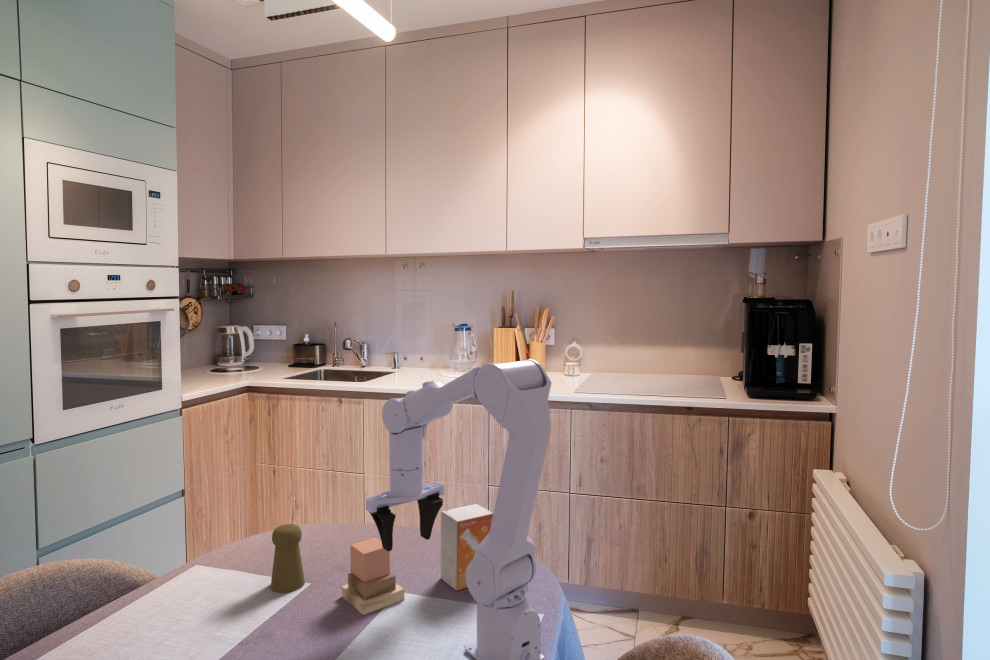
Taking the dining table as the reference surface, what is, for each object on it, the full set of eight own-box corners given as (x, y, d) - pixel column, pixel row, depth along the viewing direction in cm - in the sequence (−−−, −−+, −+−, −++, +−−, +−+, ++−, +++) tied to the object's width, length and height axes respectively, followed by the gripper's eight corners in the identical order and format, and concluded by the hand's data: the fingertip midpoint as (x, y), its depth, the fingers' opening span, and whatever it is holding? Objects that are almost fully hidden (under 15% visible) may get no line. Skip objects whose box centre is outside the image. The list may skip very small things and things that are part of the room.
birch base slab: (404, 602, 106) (404, 589, 105) (363, 618, 100) (363, 604, 100) (381, 585, 112) (381, 572, 112) (341, 599, 107) (341, 586, 106)
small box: (456, 592, 108) (456, 521, 108) (439, 578, 114) (439, 510, 113) (493, 580, 113) (494, 512, 112) (476, 567, 118) (476, 502, 117)
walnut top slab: (395, 589, 105) (395, 575, 105) (365, 600, 101) (364, 586, 101) (378, 577, 110) (378, 563, 110) (348, 587, 106) (348, 573, 106)
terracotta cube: (389, 573, 106) (389, 546, 106) (364, 582, 103) (363, 553, 102) (375, 564, 110) (375, 537, 109) (350, 572, 106) (350, 544, 106)
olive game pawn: (262, 588, 109) (261, 529, 109) (288, 574, 115) (287, 518, 114) (286, 595, 107) (285, 535, 106) (311, 581, 112) (311, 523, 111)
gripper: (429, 454, 111) (429, 526, 112) (357, 468, 102) (357, 546, 103) (451, 462, 106) (451, 538, 107) (377, 478, 97) (377, 560, 97)
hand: (406, 543), depth 104 cm, fingers open, 7 cm apart
